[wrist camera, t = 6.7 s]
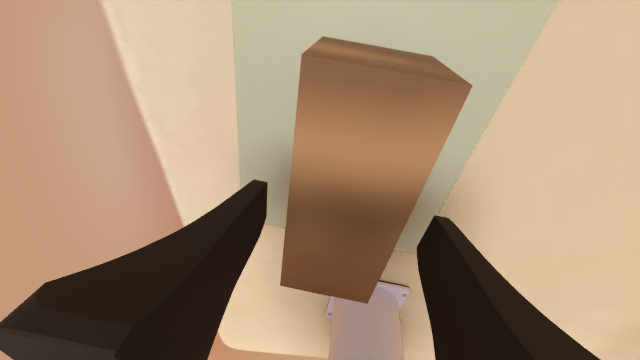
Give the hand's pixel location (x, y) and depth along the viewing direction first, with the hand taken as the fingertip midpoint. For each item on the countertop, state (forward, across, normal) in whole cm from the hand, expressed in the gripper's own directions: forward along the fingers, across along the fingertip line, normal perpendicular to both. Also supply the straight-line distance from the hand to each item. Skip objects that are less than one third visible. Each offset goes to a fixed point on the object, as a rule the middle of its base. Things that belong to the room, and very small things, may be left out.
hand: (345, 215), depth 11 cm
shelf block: (+5, 0, 0) cm, 5 cm away
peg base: (+9, 0, 0) cm, 9 cm away
